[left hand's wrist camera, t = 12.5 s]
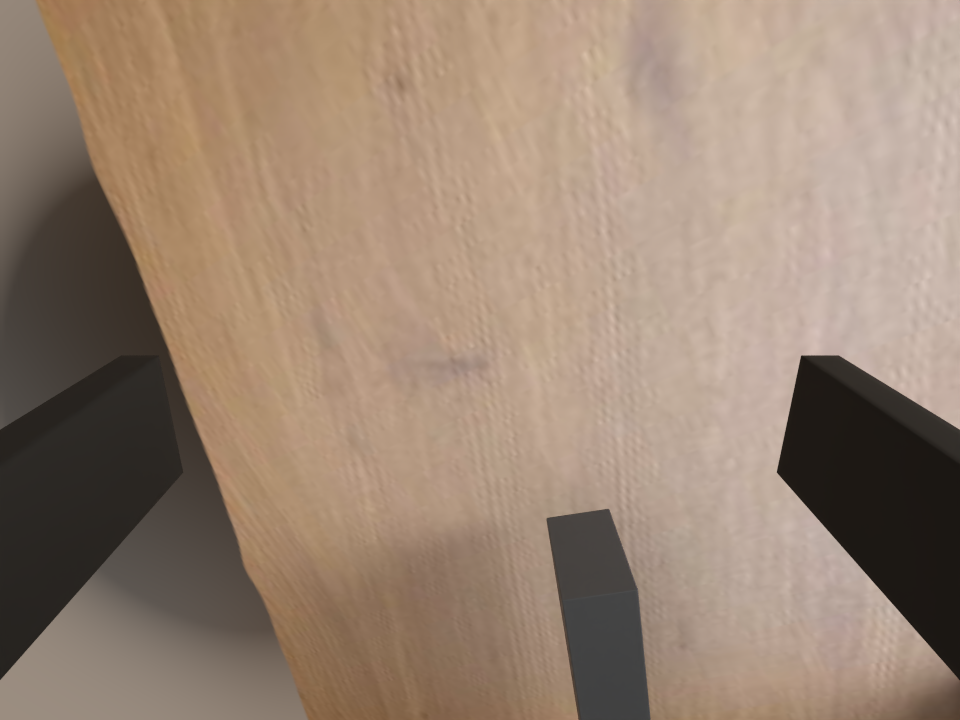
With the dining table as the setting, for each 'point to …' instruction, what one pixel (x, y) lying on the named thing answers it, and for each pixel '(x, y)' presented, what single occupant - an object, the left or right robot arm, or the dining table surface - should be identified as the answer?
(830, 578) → the dining table surface
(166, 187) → the dining table surface
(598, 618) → the bar
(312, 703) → the dining table surface
